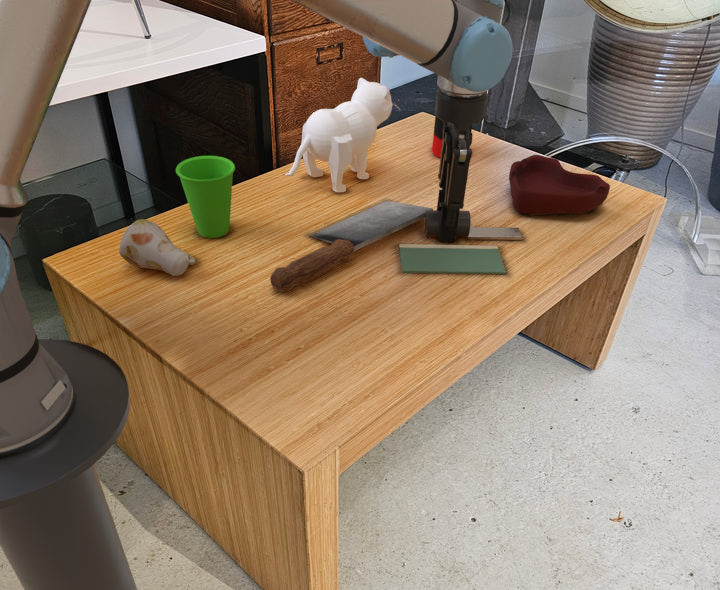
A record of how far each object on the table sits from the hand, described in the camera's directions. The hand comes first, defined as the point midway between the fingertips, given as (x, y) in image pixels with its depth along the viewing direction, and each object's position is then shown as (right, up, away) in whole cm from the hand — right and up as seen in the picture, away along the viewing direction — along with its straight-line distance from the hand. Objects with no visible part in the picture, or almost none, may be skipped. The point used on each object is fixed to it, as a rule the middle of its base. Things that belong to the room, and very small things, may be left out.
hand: (444, 233), depth 110 cm
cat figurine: (-18, +13, +15) cm, 27 cm away
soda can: (+4, +21, +27) cm, 34 cm away
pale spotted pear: (-44, -7, -10) cm, 46 cm away
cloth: (0, -5, -6) cm, 8 cm away
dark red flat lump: (+19, +7, +10) cm, 23 cm away
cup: (-38, 0, -1) cm, 39 cm away
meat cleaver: (-17, -3, -3) cm, 18 cm away
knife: (+5, 0, 0) cm, 5 cm away
